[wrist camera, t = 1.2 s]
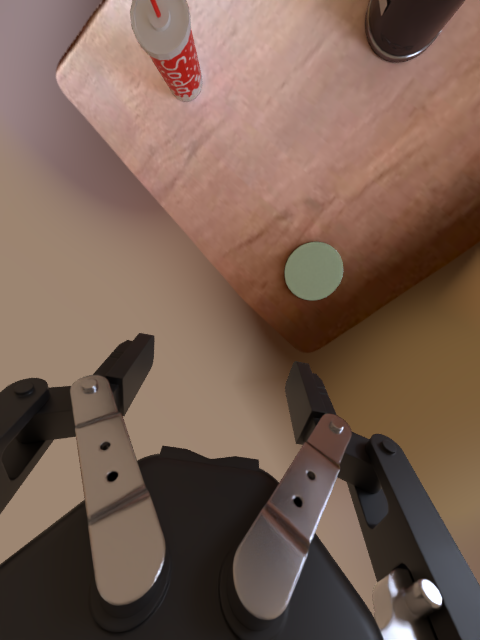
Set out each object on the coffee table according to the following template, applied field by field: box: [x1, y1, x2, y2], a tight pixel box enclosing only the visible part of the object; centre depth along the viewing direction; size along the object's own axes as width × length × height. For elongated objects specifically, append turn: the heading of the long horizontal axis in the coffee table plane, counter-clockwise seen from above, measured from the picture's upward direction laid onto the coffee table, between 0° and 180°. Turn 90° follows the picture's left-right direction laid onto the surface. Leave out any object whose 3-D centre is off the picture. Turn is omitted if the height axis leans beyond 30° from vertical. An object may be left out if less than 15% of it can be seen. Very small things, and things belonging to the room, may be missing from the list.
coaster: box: [284, 242, 343, 300], centre depth 37 cm, size 9×9×1 cm
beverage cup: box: [130, 0, 202, 102], centre depth 26 cm, size 6×6×14 cm
